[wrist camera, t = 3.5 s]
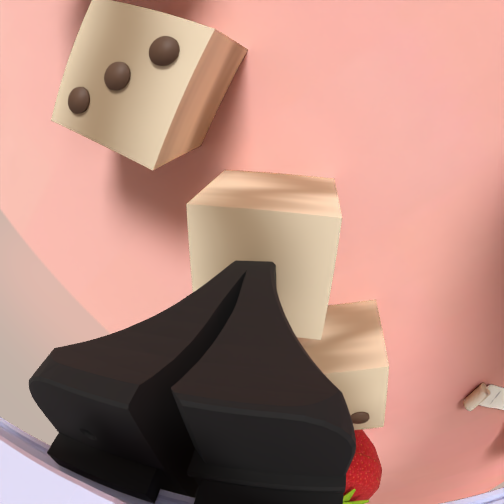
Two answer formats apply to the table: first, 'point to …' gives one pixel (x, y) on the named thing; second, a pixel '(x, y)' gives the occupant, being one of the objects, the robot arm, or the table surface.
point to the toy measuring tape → (485, 397)
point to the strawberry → (362, 472)
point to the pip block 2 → (354, 359)
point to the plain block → (270, 237)
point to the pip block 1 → (145, 81)
